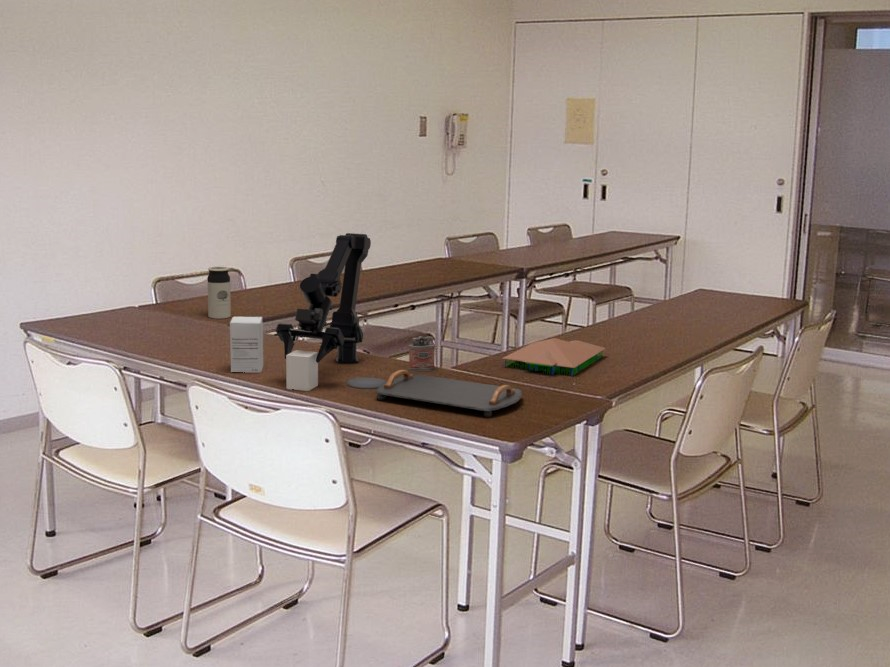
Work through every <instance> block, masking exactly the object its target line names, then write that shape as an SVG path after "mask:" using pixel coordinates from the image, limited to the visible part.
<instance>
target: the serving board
mask: <svg viewBox="0 0 890 667" xmlns="http://www.w3.org/2000/svg"><path fill="white" fill-rule="evenodd" d="M375 394H376V395H378V396H377V398H378V399H377V400H380V401H385V400H386V399H387V396H389V397H394V398H400V399H405V400H414V401H419V402H425V403H426V402H427V403H433V404H437V405H438V404H440V405H443V406H444V405H445V406H450V407H451V406H452V407H456V408H457V407H458V408H463V409H470V410H477V411H482V412H483V417H485V416H486V418H491V417H492V415H493V412H492V411H498V410H500V409H504V408H507V407H510V406H511V405H514V404H516V403H518V402H519V401H520V400H521V399H522V398H523V392H522V390H521V389H519V388H515V387H512V386H511V385H509V384H503V385H495V384H487V383H486V384H485V383H479V382H475V381H466V380H461V379H460V380H458V379H453V378H448V377H438V376H432V375H425V374H420V373H418V374H412V373H410V371H409V370H407V369H399V370H396V371H395V372H393V373H391V374H390V376H389V377H388V379H387V380H386V382H384V383H383V384H381V385H380V386H379V387H378V388H376V391H375Z"/></svg>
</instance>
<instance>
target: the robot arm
mask: <svg viewBox="0 0 890 667" xmlns="http://www.w3.org/2000/svg"><path fill="white" fill-rule="evenodd" d="M371 241H372V240H371V238H369V237H368V235H367V234H366V233H354V232H353V233H349V232H347V233H345V234H340V235H337V237H336V239H335V245H334V247H333V250H332V252H331V253H330V254H331V255H330V257H329V259H328V261H327V263H326V266H325V268H322V270H320V271H319V272H318V273H310V275H309V276H307V277H305V278H304V279H303V280H302V281H300V284H299V288H300V290H301V293H302V295H303V296H304V299H305V301H306V302H307V303H308V304H309V305H308V308H307V309H306V308H296V314H295V317H294V321H297V322H298V327H300V329H297V328H294V327H293V325H292V324H291V323H282V322H280V323H278V324H277V325H276V328H275V332H276V334H277V336H278V338H279V340H280V341H281V342H283V344H284V346H283V347H284V350H283V351H284V359H285V360H286V355H287V354H289V353H291V352H293V348H294V346H295V341H296V338H297V337H298V338H309V339H314V340H315V339H317V340H321V344H320V346H319V349H318V351H317V352H318V354H317V358H316V362H317V363H318V364H319V363H320V361H322V360H323V358H326V356H327V355H328V354H329V353H331V352H332V351H333V350H337V356H335V360H336V363H338V364H344V363H346V364H347V363H348V364H350V363H359V362H360V361H359V359H358V356H357V346H358V345H357V344H359V343H363V340H364V332H363V329H362V328H361V325H360V318H359V316H358V314H357V311H356V305H357V297H358V292H359V291H358V289H359V282H360V274H361V269H362V268H361V267H362V263H363V262H364V261H365V259H366V258H367V257H368V256H369V250H370V248H371V244H372V242H371ZM343 270H344V272H343ZM342 273H343V279H342V281H341V275H342ZM340 293H341V295H340V300H339V301H340V302H339V307H338V309H337V310H336V311H333V312H332V315H331V316H332V317H331V322H330V325H329V326H328V327H327V324H328V323H327V318H328V315H329V312H330V311H332V310H333V305H332V300H331V299H330V298H331V297H332V298H335V297H338V296H339V294H340ZM324 327H325V330H324V331H323V329H324Z"/></svg>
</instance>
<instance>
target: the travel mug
mask: <svg viewBox="0 0 890 667" xmlns="http://www.w3.org/2000/svg"><path fill="white" fill-rule="evenodd" d="M207 270H208V273H209V274H208V275H207V277H206V278H207V279H206V280H207V312H208V314H207V315H208V316H207V317H208V318H209V319H213V320H221V319H222V320H224V319H228V318H231V317H232V311H231V310H232V306H231V304H232V303H231V276H230V275H229V270H230V267H227V266H210V267H208V268H207Z"/></svg>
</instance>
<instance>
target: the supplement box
mask: <svg viewBox="0 0 890 667" xmlns="http://www.w3.org/2000/svg"><path fill="white" fill-rule="evenodd" d="M263 326H264V325H263V316H232V318H231V320H230V322H229V342H230V343H229V344H230V349H229V350H230V373H231V372H243V373H244V372H245V373H246V374H247V373H253V374H255V373H258V374H259V373H262V372H263V368H264V336H263V334H264V332H263V331H264V328H263ZM243 373H242V374H243Z"/></svg>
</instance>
